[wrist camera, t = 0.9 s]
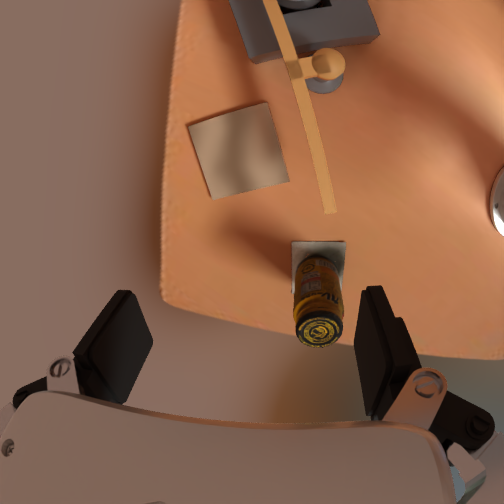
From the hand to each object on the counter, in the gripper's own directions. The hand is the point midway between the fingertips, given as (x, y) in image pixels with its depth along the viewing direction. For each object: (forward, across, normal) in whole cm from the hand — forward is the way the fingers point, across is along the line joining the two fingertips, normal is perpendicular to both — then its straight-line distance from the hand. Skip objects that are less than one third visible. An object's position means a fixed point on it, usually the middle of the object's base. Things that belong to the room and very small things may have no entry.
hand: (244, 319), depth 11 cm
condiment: (+26, -5, +14) cm, 30 cm away
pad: (+27, +4, -3) cm, 27 cm away
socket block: (+26, -5, -19) cm, 33 cm away
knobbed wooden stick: (+20, -5, -11) cm, 23 cm away
